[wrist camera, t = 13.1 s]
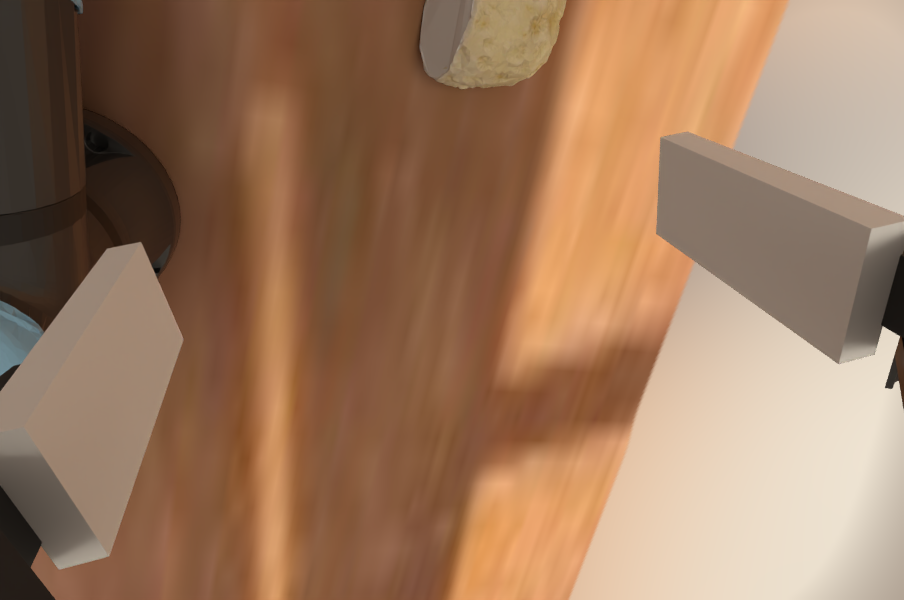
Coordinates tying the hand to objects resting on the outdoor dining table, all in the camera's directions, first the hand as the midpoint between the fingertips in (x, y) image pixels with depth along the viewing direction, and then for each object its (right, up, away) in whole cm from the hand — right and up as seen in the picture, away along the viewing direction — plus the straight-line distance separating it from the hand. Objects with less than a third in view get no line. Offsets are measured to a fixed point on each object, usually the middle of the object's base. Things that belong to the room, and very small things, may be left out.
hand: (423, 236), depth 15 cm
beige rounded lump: (+2, +19, +29) cm, 35 cm away
